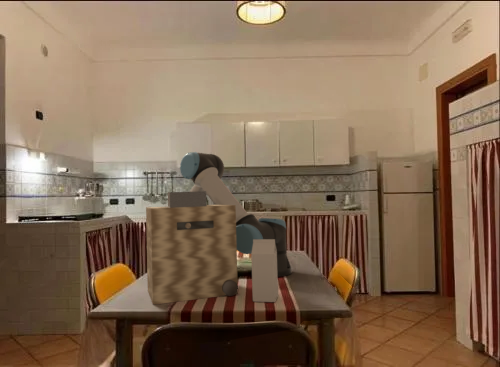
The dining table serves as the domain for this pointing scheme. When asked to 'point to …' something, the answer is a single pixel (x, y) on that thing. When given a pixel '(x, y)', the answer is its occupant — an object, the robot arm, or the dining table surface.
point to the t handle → (186, 199)
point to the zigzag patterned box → (191, 252)
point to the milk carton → (264, 270)
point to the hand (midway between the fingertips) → (172, 212)
